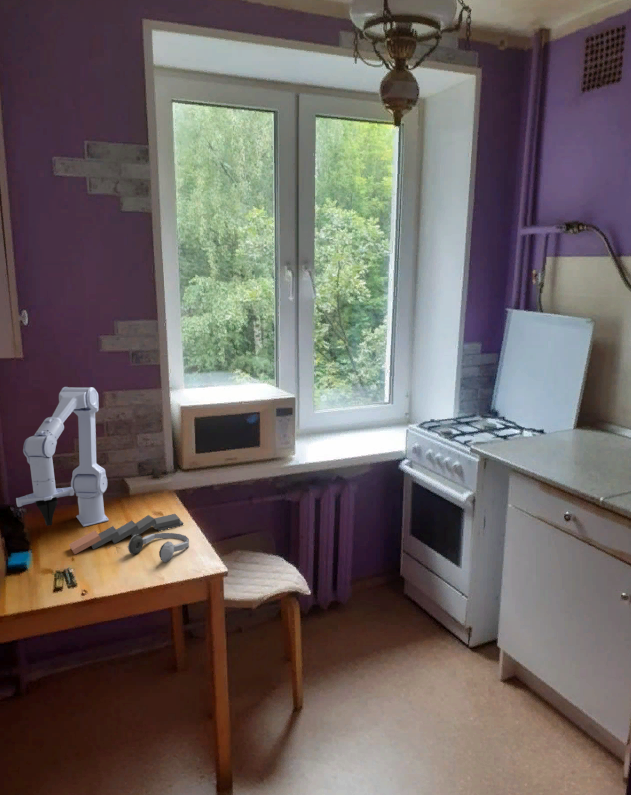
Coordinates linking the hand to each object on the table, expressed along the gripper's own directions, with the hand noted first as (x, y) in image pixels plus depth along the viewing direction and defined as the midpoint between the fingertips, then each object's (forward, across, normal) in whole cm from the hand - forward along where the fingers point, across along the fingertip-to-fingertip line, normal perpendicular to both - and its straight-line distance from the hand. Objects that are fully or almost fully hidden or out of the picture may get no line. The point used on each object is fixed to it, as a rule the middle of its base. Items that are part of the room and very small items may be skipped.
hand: (48, 524), depth 170 cm
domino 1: (+9, +5, 0) cm, 10 cm away
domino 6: (+10, +30, 0) cm, 32 cm away
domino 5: (+8, +30, +1) cm, 31 cm away
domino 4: (+9, +22, 0) cm, 24 cm away
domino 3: (+9, +16, 0) cm, 19 cm away
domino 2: (+9, +10, 0) cm, 14 cm away
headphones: (+10, +25, -14) cm, 30 cm away
